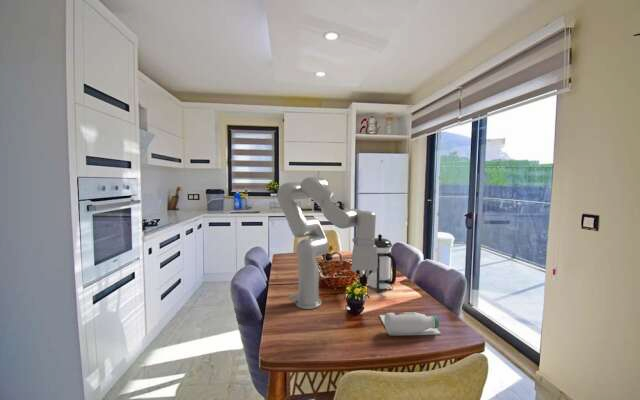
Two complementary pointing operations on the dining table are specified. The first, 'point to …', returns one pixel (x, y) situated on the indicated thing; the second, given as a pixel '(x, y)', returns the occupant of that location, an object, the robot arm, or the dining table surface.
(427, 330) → the mat
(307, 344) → the dining table surface
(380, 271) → the coffee press
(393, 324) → the milk bottle
